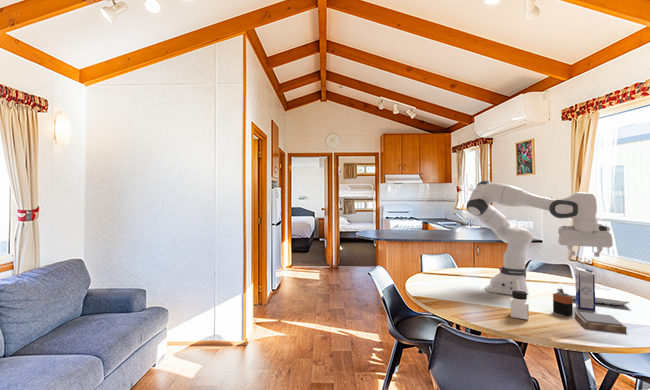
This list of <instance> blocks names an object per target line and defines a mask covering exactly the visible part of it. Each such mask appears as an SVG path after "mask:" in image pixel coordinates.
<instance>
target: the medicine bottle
mask: <svg viewBox="0 0 650 390" xmlns="http://www.w3.org/2000/svg"><path fill="white" fill-rule="evenodd" d="M527 295H528V294H527V293H526V292H525V291H522V290H513V291H512V295H511V299H510V318H516V319H520V320H521V319H522V320H527V321H528V320H529V300H528V296H527Z"/></svg>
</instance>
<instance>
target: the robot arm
mask: <svg viewBox="0 0 650 390" xmlns="http://www.w3.org/2000/svg"><path fill="white" fill-rule="evenodd" d="M491 203H496V204H498V205H501V206H502V205H503V206H508V207H514V208H515V207H517V208H518V207H530V208H531V207H532V208H536V209H540V210H543V211H548V212H549V213H550V214H551V215H552V216H553V217H555V218H557V219H561V220H562V219H569V218H572V225H562V226H560V227H558V230H557V231H558V232H557V233H558V239H557V240H558V242H557V243H558V244H559V245H561V246H566V247H567V249H568V250H569V255H570V256H575V255H576V252H575V251H573V249H572V248H573V247H588V248H589V247H591V248H596V249H597V251H596V252H595V251H594V252H593V256H594V257H596V258H600V254H601V253H602V251H603V248H611V247H613V237H612V236H613V235H612V233H611V232H610V229H611V228H610V226H607V225H603V224H600V223H598V219H597V216H596V214H597V212H598V207H597V198H596V196H595V195H594V194H593V193H589V192H584V191H575V192H574V193H572V194H570V195H567V196H565V197H562V198H557V199H556V198H549V197H545V196H540V195H537V194H536V195H535V194H532V193H530V192H529V191H526V190H524V189H522V188H519V187H517V186H514V185H511V184H507V183H500V182H492V181H488V180H482V181H480V182H479V183H477V185H476V186H475V188H474V189H473V191H472V192H471V194H470V197H469V200H468V201H467V202H466V206H465V207H466V210H467V212H469V213H470V214H471V215H474V216H475V217H476V218H477V220H479V221H480V222H482V223H483V224H484V225H485V226H487V228H488V229H490V230H491V231H492V232H493V233H494V234H495V235H496V236H497V238H498V239H499V240H500V241H502V242H504V243H506V244H507V248H506V250H505V251H504V253H503V266H498V270H499V273H498V274H496V275H494V276H492V277H491V279H490V281H489V284H487V285H486V286H485V290H486V291H487V292H490V293H496V294H502V295H503V294H505V295H511V296H512V291H513V290H522V291H525V292H526V293H527V295H528V294H529V290H528V286H527V280H526V278H527V269H526V254H527V253H526V252H527V249H528V246H529V245H530V244H531V243H532V241H533V239H534V236H533V233H532V232H531V231H530V230H529V229H528V228H525V227H523V226H517V225H513V224H511V222H510V221H509V220H508V219H507V217H506V215H504V214H503V213H502V212H501V211H499V210H498V209H497V208H495V207H494V206H493V205H491Z"/></svg>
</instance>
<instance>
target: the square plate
mask: <svg viewBox="0 0 650 390" xmlns="http://www.w3.org/2000/svg"><path fill="white" fill-rule="evenodd" d="M557 285H558V286H559V287H560V289H561V290H562V291H563V293H567V294H569V295H570V296H572V300H573V301H576V284H570V283H557ZM595 302H596V303H595V304H597V303H598V304H602V303H604V305H610V304H612V305H614V306H616V305H618V306H619V305H620V306H624V305H628V304H629V303H630V300H628V299H627V298H625V296H624V295H622V294H621V293H620V292H619V291H617V290H616V289H614V288H610V287H608V288H607V287H601V286H595ZM612 305H611V306H612Z"/></svg>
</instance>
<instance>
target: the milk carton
mask: <svg viewBox="0 0 650 390" xmlns="http://www.w3.org/2000/svg"><path fill="white" fill-rule="evenodd" d="M574 271H575V274H574V275H575V285H576V300H575V306H576V307H577V309H578V310H585V311H593V312H596V303H595V287H596V275H595V273H593V272H594V270H592V269H589V268H585V269H584V268H580V267H577V266H575V269H574Z"/></svg>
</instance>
